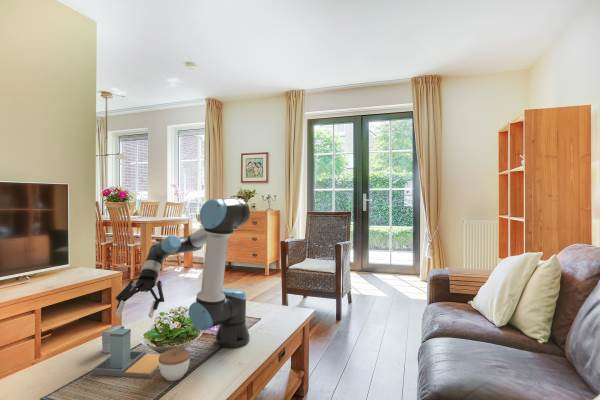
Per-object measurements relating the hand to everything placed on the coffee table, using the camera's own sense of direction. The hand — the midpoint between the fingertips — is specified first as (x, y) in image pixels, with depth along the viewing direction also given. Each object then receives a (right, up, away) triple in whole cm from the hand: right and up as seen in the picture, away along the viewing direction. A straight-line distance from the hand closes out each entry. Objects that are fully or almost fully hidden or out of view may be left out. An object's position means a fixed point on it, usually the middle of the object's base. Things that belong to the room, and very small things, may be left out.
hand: (133, 316), depth 141 cm
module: (0, -15, -11) cm, 18 cm away
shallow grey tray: (0, -15, -11) cm, 18 cm away
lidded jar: (+24, -15, -19) cm, 34 cm away
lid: (+11, -15, -12) cm, 22 cm away
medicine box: (-10, -15, +3) cm, 19 cm away
